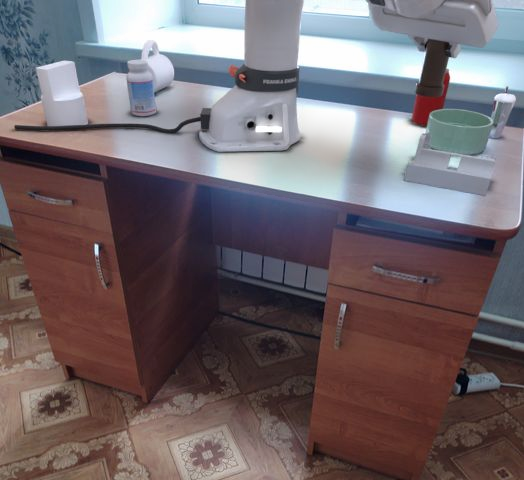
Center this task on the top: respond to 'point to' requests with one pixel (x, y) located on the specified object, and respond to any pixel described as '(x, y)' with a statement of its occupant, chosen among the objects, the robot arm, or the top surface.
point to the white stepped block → (61, 94)
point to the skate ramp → (437, 173)
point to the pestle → (433, 69)
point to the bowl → (459, 131)
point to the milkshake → (501, 112)
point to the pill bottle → (140, 88)
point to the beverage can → (429, 104)
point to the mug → (158, 66)
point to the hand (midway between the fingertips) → (439, 51)
